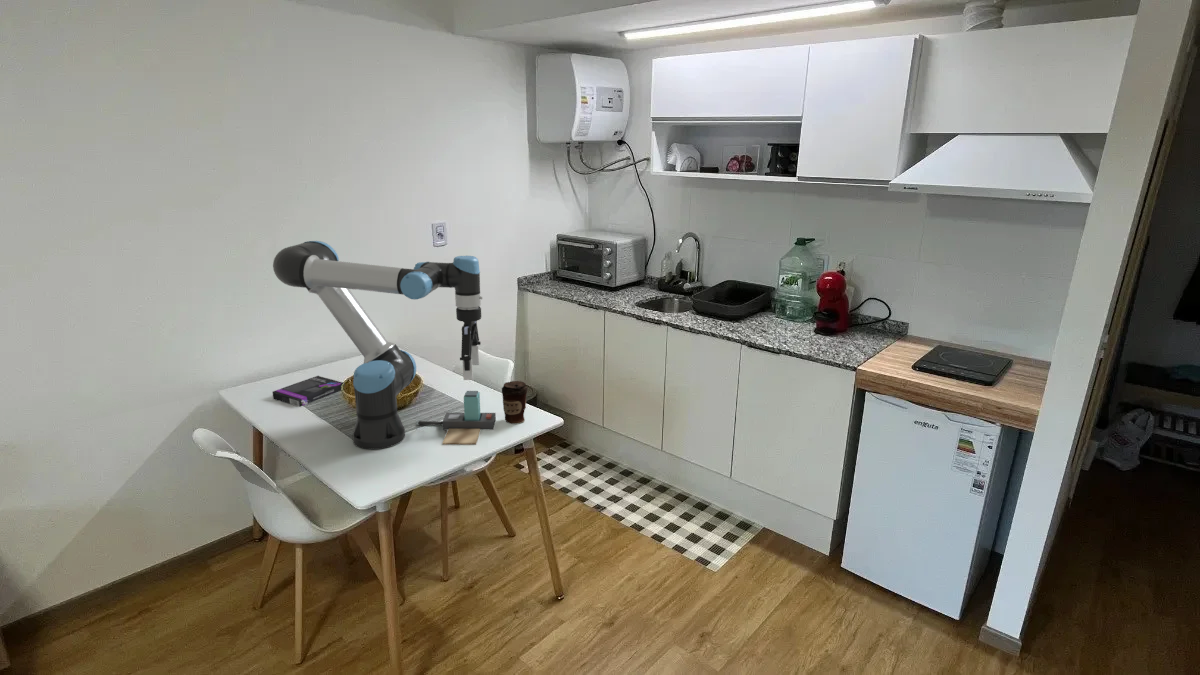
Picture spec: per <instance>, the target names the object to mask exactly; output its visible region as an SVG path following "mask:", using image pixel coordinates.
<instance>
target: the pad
mask: <svg viewBox="0 0 1200 675" xmlns="http://www.w3.org/2000/svg"><path fill="white" fill-rule="evenodd" d="M480 433H481V430H480V429H448V430H447V432H446V435H445V436H444V439H443V441H442V445H477V443H478V439H479V436H480Z"/></svg>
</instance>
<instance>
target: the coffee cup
mask: <svg viewBox="0 0 1200 675" xmlns="http://www.w3.org/2000/svg"><path fill="white" fill-rule="evenodd" d="M527 393H528V386H527V384H526V382H524V381H521V380H520V381H519V380H512V381H507V382H504V383H503V386H502V387H501V396H502V406H503V412H504V421H505V423H508V424H511V425H516V424H522V423H524V422H525V420H526V419H525V416H524V414H525V410H526V407H527Z"/></svg>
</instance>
